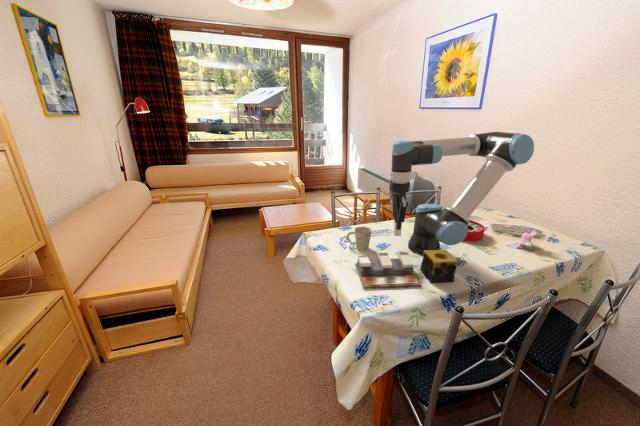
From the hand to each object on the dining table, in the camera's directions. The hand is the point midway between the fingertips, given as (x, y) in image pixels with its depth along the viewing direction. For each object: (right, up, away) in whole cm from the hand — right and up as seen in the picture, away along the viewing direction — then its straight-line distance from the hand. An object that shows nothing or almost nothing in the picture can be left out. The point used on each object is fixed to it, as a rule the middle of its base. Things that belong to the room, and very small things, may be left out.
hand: (397, 235), depth 117 cm
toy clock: (+48, -3, +39) cm, 61 cm away
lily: (+72, -8, +23) cm, 76 cm away
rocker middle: (-5, -12, +1) cm, 13 cm away
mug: (-14, -8, +23) cm, 28 cm away
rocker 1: (-14, -13, 0) cm, 19 cm away
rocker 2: (+4, -12, +2) cm, 13 cm away
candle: (+16, -17, -1) cm, 24 cm away
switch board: (-5, -17, -1) cm, 18 cm away
